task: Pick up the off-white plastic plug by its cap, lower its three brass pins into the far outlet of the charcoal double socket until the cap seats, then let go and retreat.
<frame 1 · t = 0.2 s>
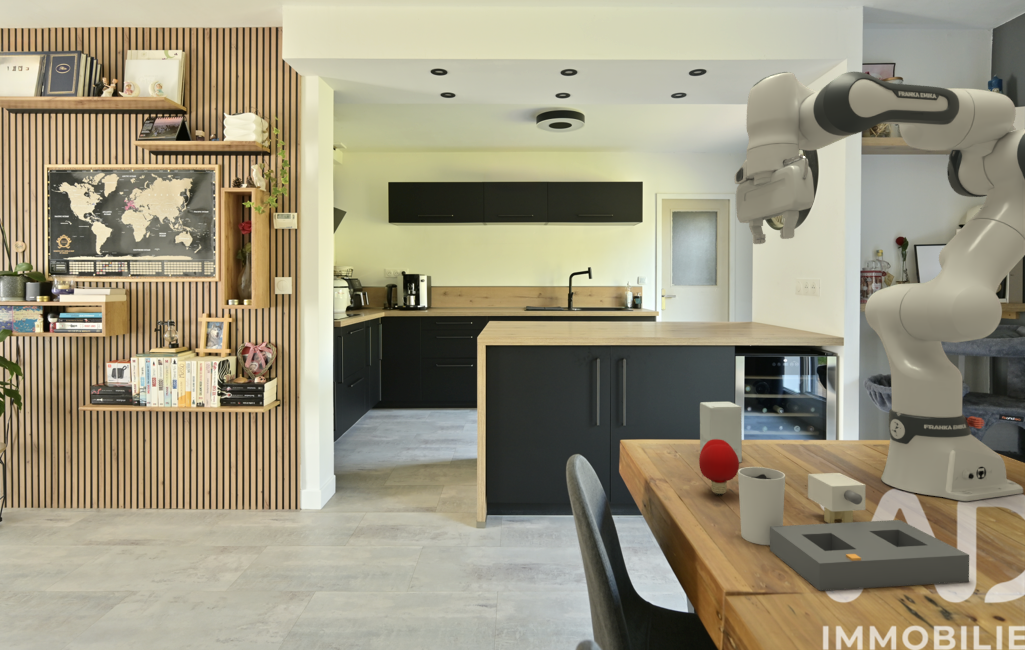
hand: (772, 241, 108), 47 cm above the table, fingers open, 8 cm apart
plug: (835, 521, 95), on the table
double socket: (862, 564, 80), on the table
beige cup: (761, 538, 89), on the table
red rounded egg-shaped part: (719, 496, 109), on the table
supplement box: (720, 459, 134), on the table
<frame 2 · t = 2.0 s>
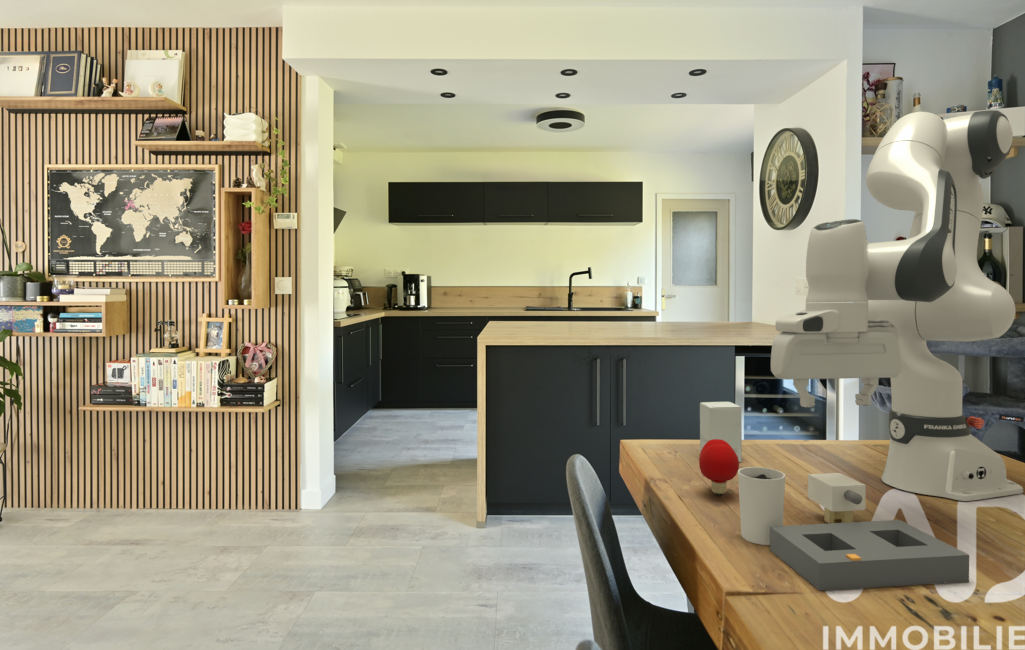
hand: (835, 406, 94), 19 cm above the table, fingers open, 8 cm apart
nothing on the table moved.
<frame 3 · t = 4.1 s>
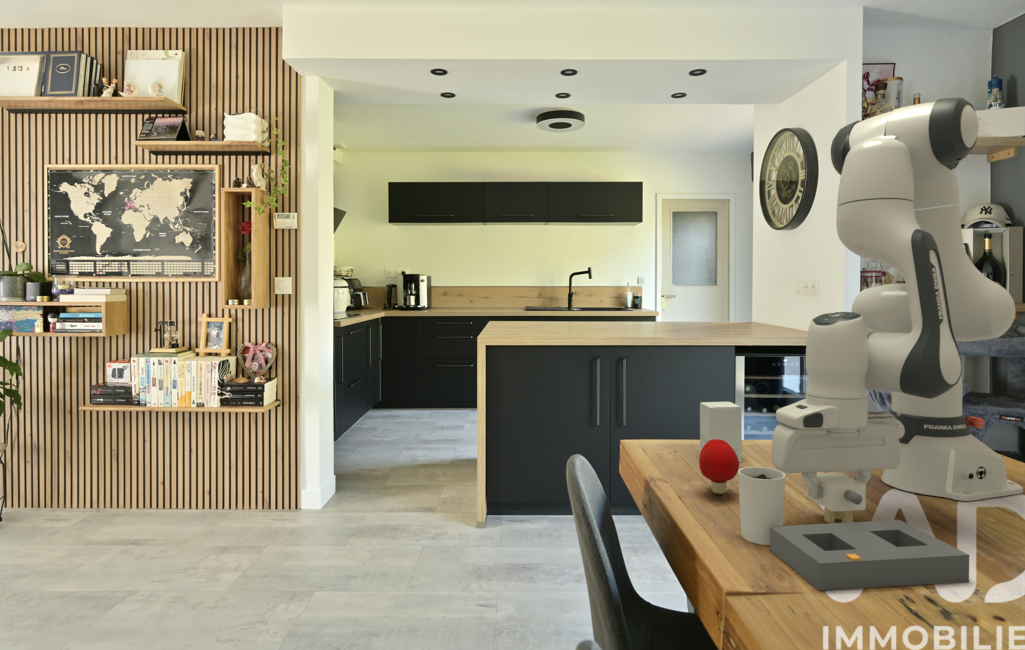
hand: (835, 496, 95), 4 cm above the table, fingers closed on plug, 5 cm apart
plug: (835, 521, 95), on the table, touching gripper
everything else where it was.
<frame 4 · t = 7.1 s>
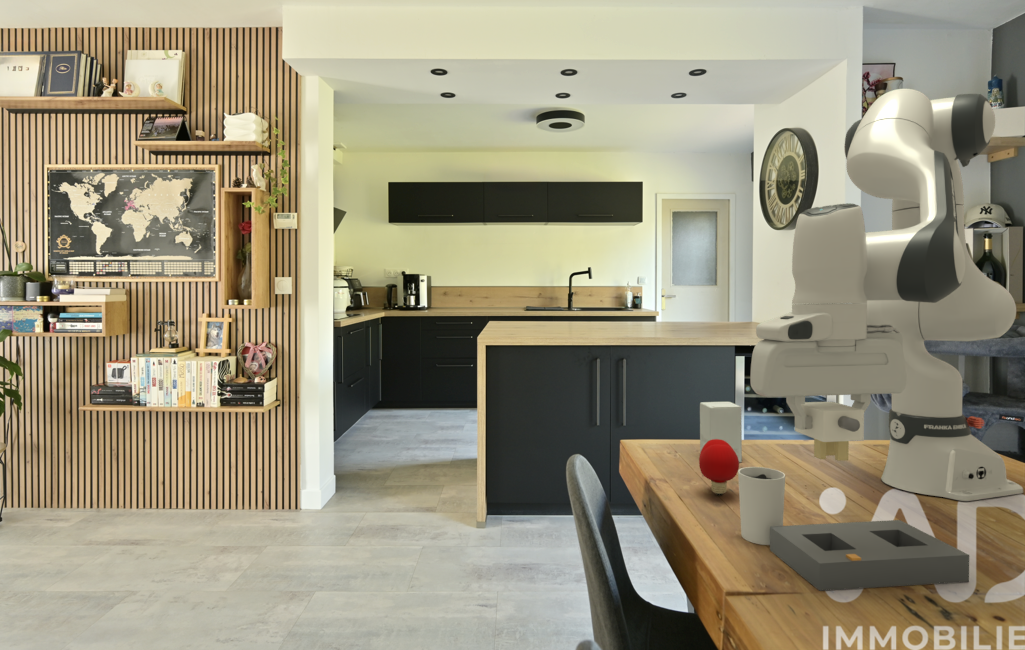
hand: (827, 427, 78), 19 cm above the table, fingers closed on plug, 5 cm apart
plug: (827, 457, 79), point 15 cm above the table, touching gripper
everything else where it was.
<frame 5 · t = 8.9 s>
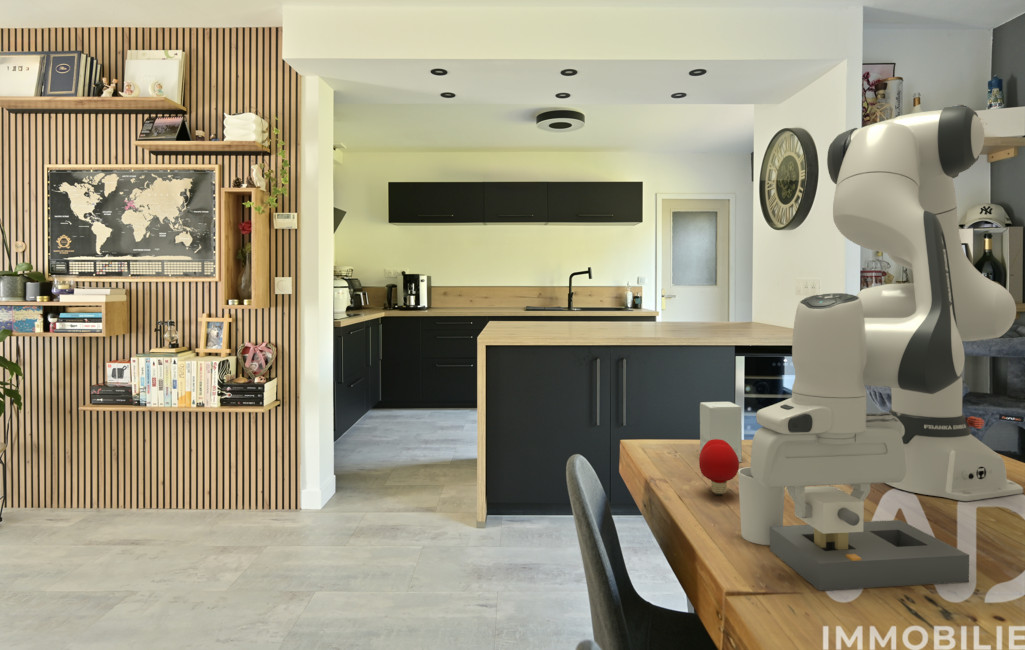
hand: (827, 515, 79), 7 cm above the table, fingers closed on plug, 5 cm apart
plug: (827, 545, 79), point 3 cm above the table, touching gripper
everything else where it was.
when the fingers open (5 cm above the table, at t = 9.9 s): plug stays where it is, resting on double socket.
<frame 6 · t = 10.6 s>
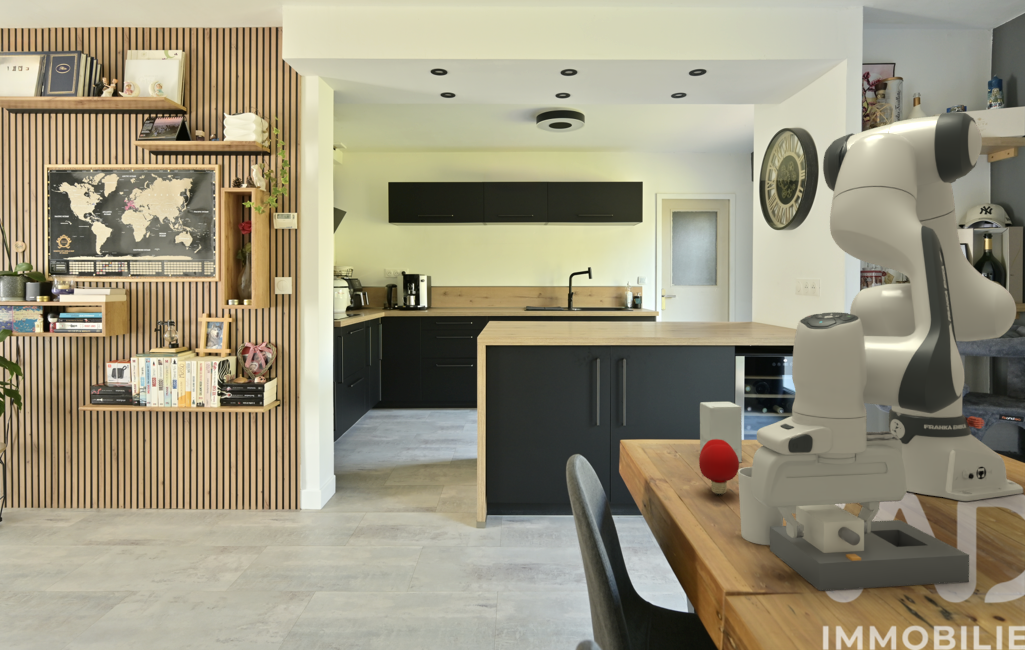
hand: (828, 534, 79), 4 cm above the table, fingers open, 8 cm apart
plug: (828, 563, 79), resting on double socket
everything else where it was.
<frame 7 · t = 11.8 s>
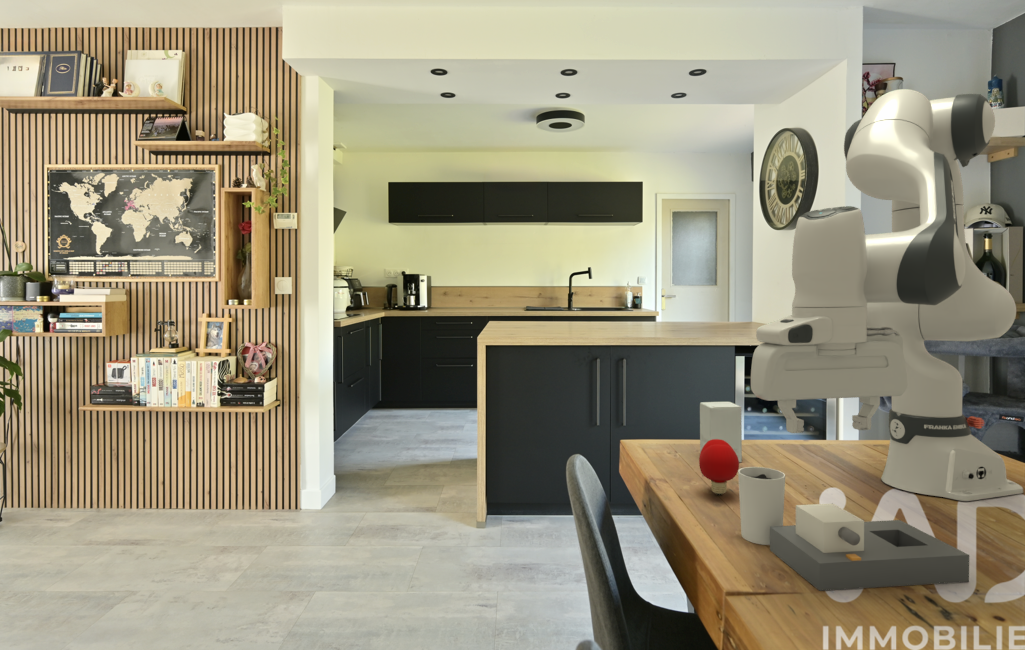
hand: (828, 430, 79), 19 cm above the table, fingers open, 8 cm apart
nothing on the table moved.
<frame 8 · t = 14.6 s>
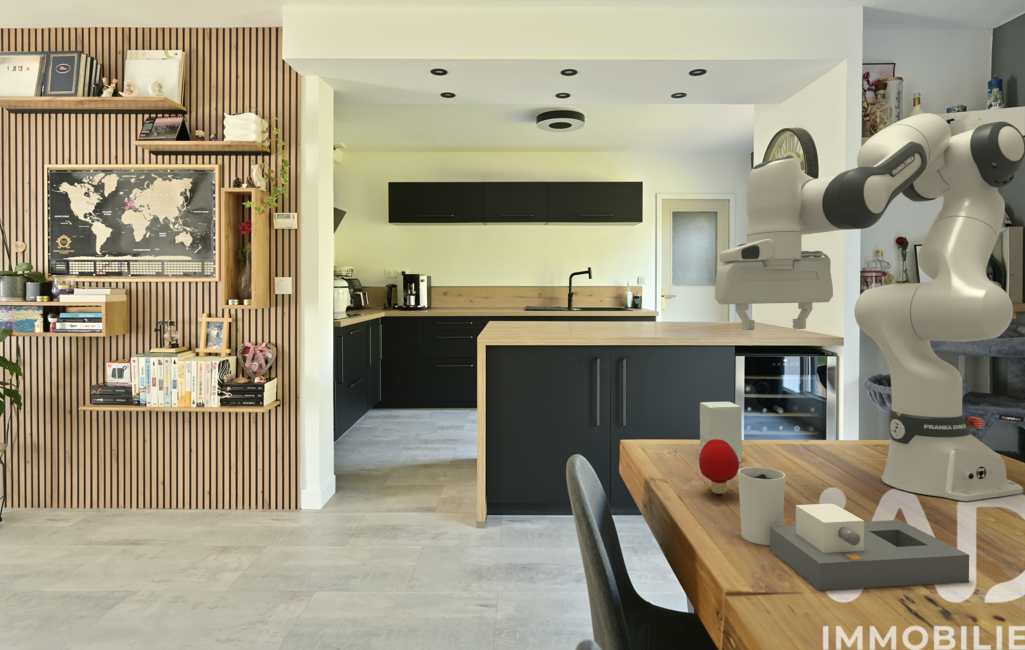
hand: (773, 329, 103), 31 cm above the table, fingers open, 8 cm apart
nothing on the table moved.
at the end: plug 0.1 cm from the target spot on the double socket, point 0.5 cm above the double socket's base; plug tilted 0°; the gripper is holding nothing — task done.
